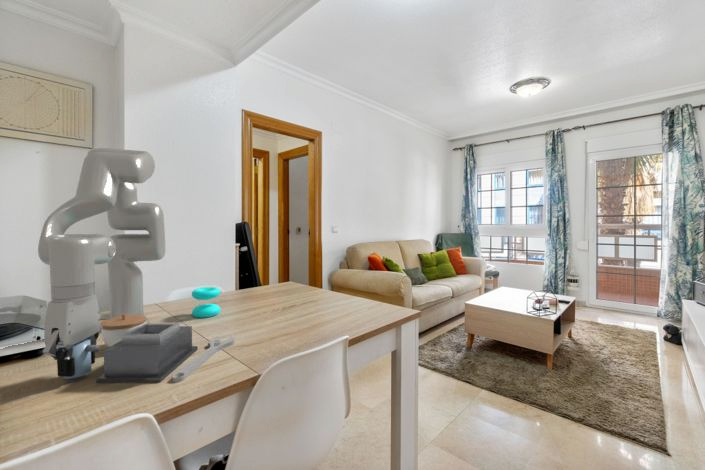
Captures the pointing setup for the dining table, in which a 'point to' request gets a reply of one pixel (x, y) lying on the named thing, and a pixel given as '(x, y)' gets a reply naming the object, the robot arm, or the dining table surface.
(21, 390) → the dining table surface
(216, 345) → the adjustable wrench
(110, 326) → the lidded jar
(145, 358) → the grey open box
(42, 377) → the dining table surface
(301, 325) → the dining table surface
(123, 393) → the dining table surface
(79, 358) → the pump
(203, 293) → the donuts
